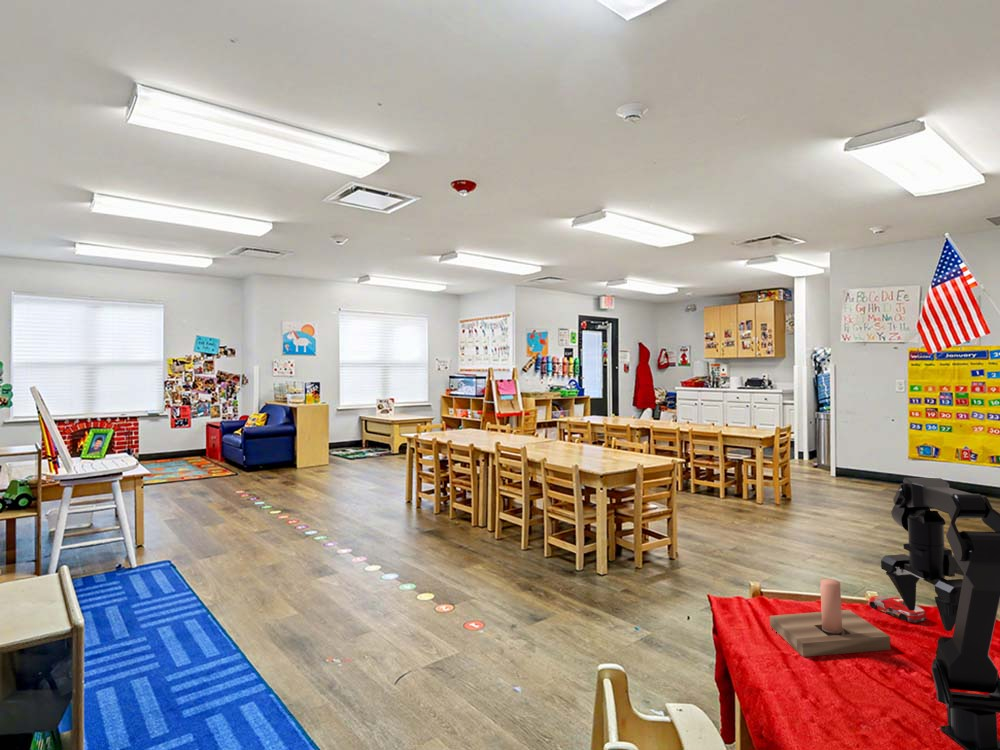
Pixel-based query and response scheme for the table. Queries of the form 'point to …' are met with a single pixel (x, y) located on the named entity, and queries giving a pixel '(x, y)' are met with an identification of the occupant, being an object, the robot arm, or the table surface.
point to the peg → (831, 607)
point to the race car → (897, 608)
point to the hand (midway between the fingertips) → (929, 620)
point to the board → (813, 642)
